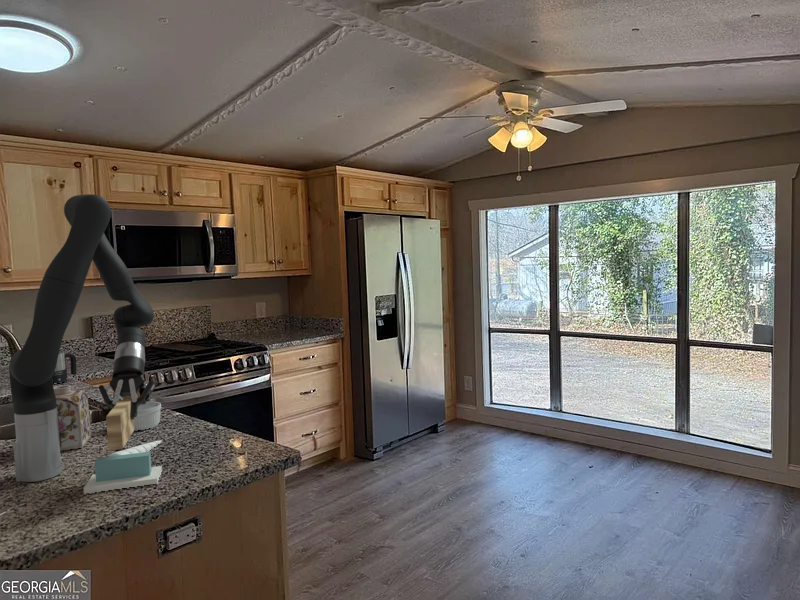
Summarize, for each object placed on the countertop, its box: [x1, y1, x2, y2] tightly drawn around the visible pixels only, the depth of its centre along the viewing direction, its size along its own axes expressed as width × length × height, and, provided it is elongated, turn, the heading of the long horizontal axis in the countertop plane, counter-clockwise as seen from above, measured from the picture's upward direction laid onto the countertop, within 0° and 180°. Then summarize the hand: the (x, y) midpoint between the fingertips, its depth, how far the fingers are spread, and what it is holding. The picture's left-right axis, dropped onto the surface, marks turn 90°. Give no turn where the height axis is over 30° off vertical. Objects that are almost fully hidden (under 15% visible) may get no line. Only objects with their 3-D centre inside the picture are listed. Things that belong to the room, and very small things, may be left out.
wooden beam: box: [105, 399, 135, 451], centre depth 138 cm, size 16×3×8 cm, turn 16°
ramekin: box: [133, 401, 162, 432], centre depth 187 cm, size 13×13×7 cm
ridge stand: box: [83, 451, 163, 495], centre depth 138 cm, size 16×9×6 cm, turn 106°
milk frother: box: [52, 350, 77, 383], centre depth 268 cm, size 14×16×15 cm
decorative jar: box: [53, 384, 92, 452], centre depth 169 cm, size 12×12×18 cm
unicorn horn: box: [109, 439, 163, 456], centre depth 158 cm, size 5×24×5 cm, turn 171°
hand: (124, 418), depth 142 cm, fingers closed on wooden beam, 3 cm apart
